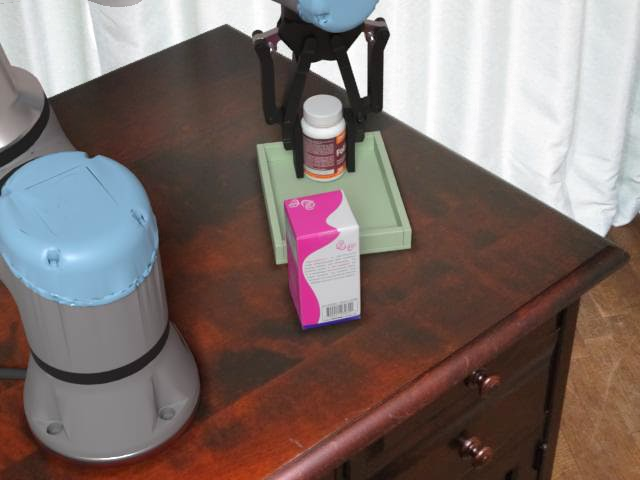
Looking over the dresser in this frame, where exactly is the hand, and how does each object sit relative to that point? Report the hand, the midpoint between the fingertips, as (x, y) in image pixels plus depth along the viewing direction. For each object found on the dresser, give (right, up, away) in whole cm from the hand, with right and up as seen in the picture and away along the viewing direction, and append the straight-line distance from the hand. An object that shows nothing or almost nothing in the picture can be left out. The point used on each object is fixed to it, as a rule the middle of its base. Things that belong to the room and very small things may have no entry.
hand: (324, 167), depth 123 cm
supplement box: (0, -14, -13) cm, 19 cm away
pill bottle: (0, 0, 0) cm, 1 cm away
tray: (+1, -4, -2) cm, 5 cm away
